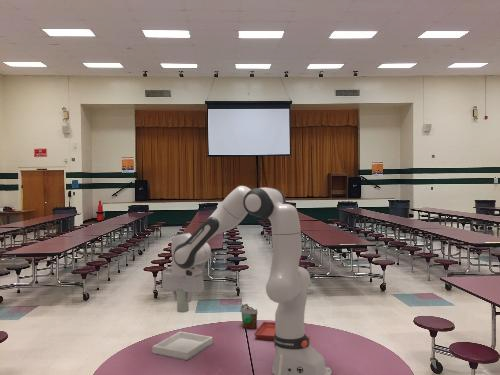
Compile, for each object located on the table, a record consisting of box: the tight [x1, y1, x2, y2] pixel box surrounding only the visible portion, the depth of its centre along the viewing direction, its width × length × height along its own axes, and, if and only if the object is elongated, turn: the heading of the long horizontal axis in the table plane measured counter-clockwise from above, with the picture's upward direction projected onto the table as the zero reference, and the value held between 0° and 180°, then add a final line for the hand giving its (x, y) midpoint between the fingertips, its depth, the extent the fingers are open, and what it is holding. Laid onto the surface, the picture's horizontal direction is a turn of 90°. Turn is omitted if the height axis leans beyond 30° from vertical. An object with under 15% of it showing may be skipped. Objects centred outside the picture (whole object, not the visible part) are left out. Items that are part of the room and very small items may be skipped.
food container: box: [239, 303, 258, 330], centre depth 216 cm, size 12×6×10 cm, turn 25°
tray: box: [151, 331, 214, 361], centre depth 189 cm, size 18×20×3 cm
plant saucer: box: [253, 321, 275, 341], centre depth 204 cm, size 18×18×3 cm
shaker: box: [176, 285, 190, 314], centre depth 189 cm, size 5×5×12 cm
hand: (182, 301), depth 189 cm, fingers closed on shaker, 5 cm apart
